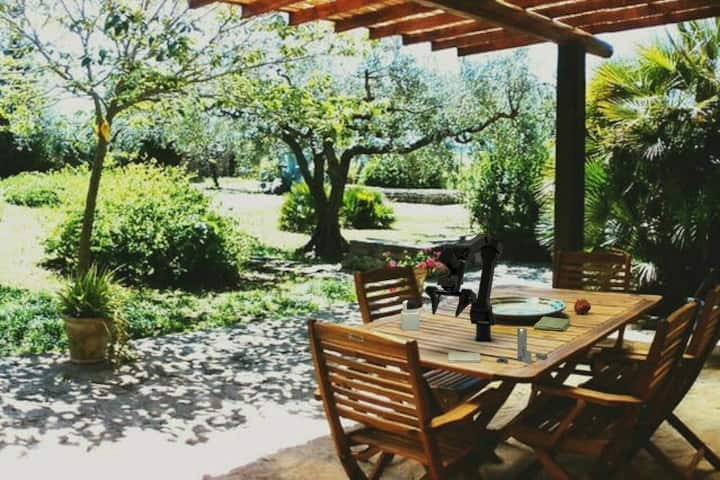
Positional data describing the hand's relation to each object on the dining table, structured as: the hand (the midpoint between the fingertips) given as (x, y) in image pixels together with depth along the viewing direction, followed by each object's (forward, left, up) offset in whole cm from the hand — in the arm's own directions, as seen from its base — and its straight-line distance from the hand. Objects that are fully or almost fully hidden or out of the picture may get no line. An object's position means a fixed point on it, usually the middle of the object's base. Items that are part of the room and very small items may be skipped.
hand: (444, 315), depth 258 cm
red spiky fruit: (-80, +62, -15) cm, 103 cm away
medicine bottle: (-47, -15, -15) cm, 52 cm away
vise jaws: (+4, +27, -15) cm, 31 cm away
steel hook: (+5, +27, -15) cm, 32 cm away
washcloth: (-53, +45, -16) cm, 71 cm away
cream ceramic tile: (+3, +7, -15) cm, 17 cm away
